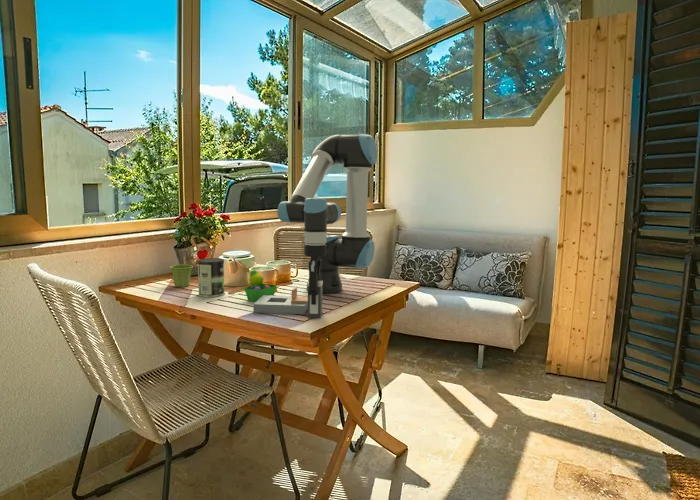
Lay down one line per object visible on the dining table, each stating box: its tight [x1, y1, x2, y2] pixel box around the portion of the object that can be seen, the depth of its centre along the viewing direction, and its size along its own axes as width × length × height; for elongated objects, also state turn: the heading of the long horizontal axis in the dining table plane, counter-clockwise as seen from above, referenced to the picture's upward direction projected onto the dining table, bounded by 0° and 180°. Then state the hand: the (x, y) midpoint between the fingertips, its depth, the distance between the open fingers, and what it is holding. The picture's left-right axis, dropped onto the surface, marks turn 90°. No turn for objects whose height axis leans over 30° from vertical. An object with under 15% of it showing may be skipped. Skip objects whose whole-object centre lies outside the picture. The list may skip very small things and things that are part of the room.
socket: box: [253, 294, 308, 315], centre depth 180 cm, size 14×18×3 cm
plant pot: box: [169, 264, 194, 288], centre depth 215 cm, size 9×9×9 cm
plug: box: [306, 281, 323, 319], centre depth 170 cm, size 5×5×12 cm
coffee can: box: [196, 257, 226, 298], centre depth 200 cm, size 10×10×14 cm
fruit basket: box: [243, 269, 277, 303], centre depth 194 cm, size 11×9×11 cm
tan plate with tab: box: [291, 286, 308, 303], centre depth 179 cm, size 7×7×4 cm
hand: (315, 311), depth 171 cm, fingers closed on plug, 4 cm apart
